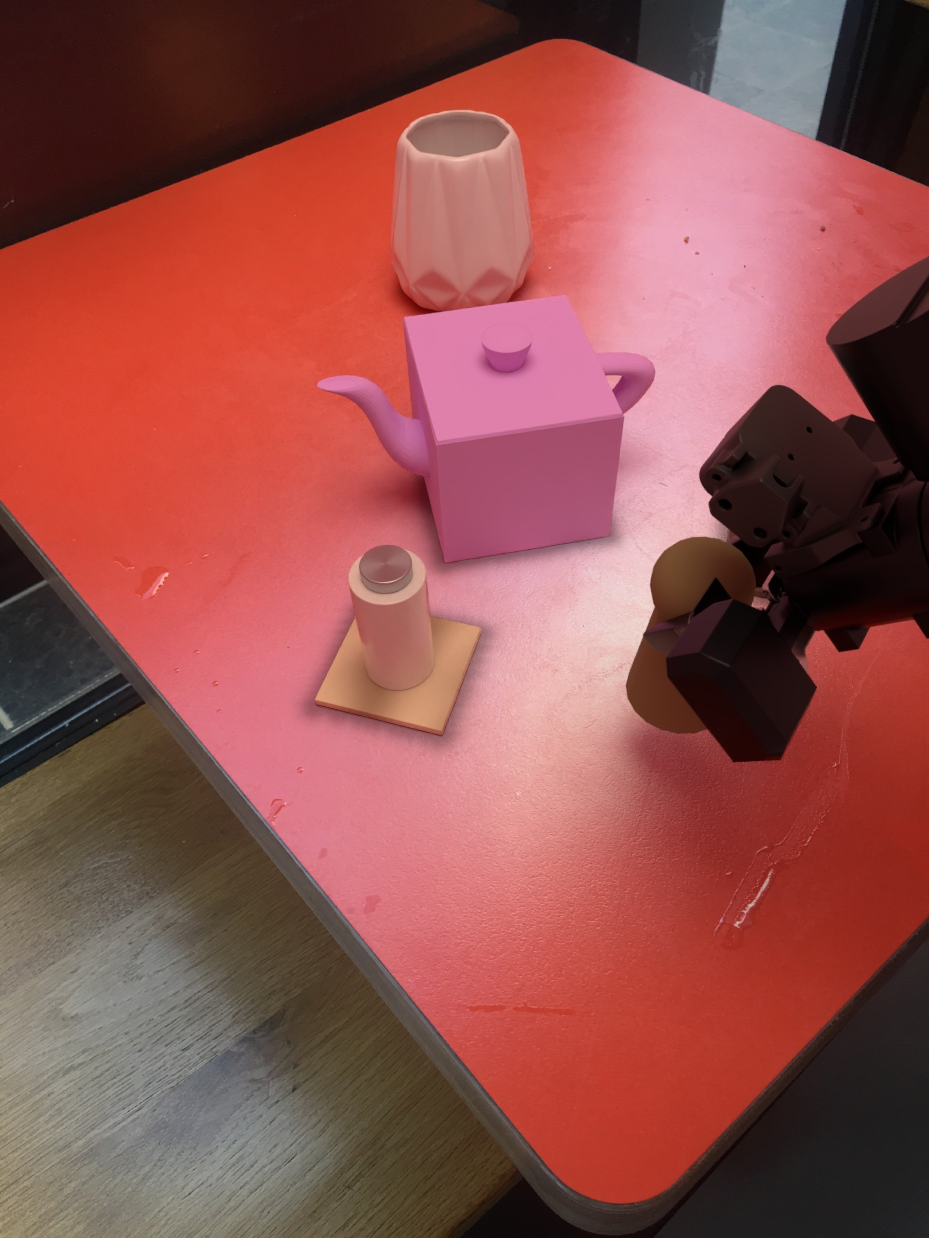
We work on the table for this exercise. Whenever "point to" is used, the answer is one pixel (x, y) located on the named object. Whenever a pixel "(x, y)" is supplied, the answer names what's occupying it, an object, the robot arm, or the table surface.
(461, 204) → the vase
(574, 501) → the teapot
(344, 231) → the table surface
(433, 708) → the pale mat
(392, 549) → the salt shaker
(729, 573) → the cork
